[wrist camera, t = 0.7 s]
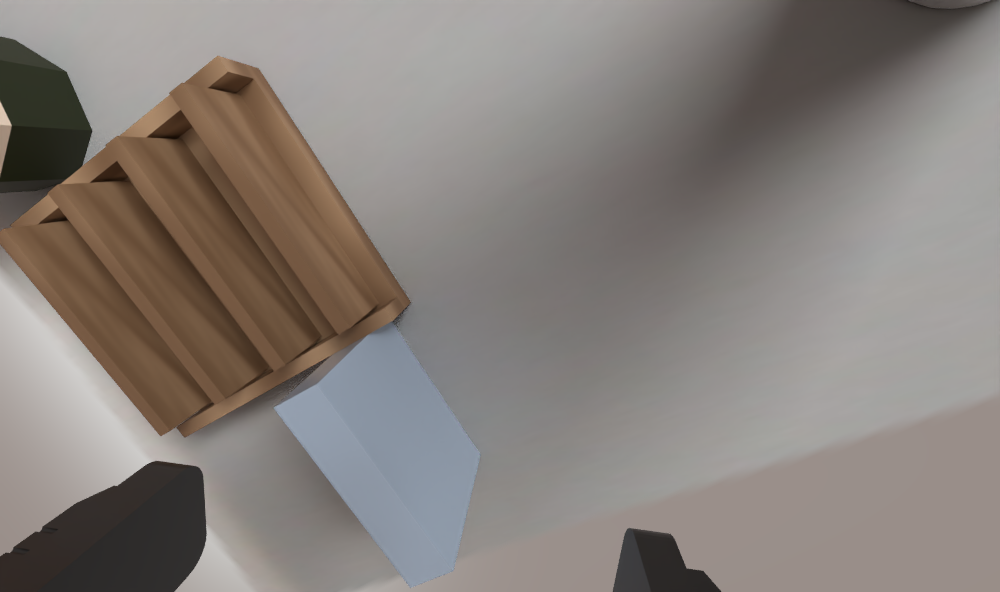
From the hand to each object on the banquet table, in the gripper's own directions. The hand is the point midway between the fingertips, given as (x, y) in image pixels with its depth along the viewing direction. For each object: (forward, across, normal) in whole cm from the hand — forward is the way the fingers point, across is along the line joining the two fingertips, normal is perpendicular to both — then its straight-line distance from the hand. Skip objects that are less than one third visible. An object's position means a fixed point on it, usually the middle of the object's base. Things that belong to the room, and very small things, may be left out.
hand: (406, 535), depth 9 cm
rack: (+19, +16, 0) cm, 25 cm away
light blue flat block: (+20, +4, +7) cm, 21 cm away
